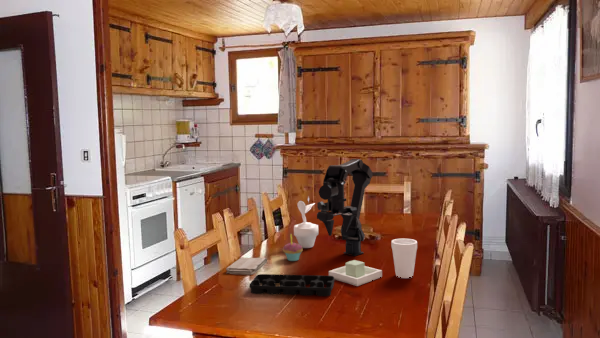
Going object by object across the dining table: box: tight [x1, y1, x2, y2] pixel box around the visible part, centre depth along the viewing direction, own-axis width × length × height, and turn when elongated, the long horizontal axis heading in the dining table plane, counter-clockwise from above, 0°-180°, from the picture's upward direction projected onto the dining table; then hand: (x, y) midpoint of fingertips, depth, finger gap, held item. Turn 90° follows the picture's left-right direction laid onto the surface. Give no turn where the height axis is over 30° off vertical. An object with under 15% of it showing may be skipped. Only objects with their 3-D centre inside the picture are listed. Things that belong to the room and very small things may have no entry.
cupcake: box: [282, 233, 304, 262], centre depth 212 cm, size 9×8×12 cm
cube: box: [344, 259, 366, 278], centre depth 186 cm, size 5×5×5 cm
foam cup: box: [390, 237, 418, 279], centre depth 186 cm, size 10×9×13 cm
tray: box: [328, 265, 383, 287], centre depth 186 cm, size 14×14×2 cm
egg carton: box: [249, 273, 335, 297], centre depth 175 cm, size 18×30×4 cm, turn 93°
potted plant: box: [293, 195, 319, 249], centre depth 232 cm, size 13×12×25 cm
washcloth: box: [225, 257, 268, 276], centre depth 202 cm, size 12×18×3 cm, turn 167°
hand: (337, 233), depth 205 cm, fingers open, 9 cm apart
